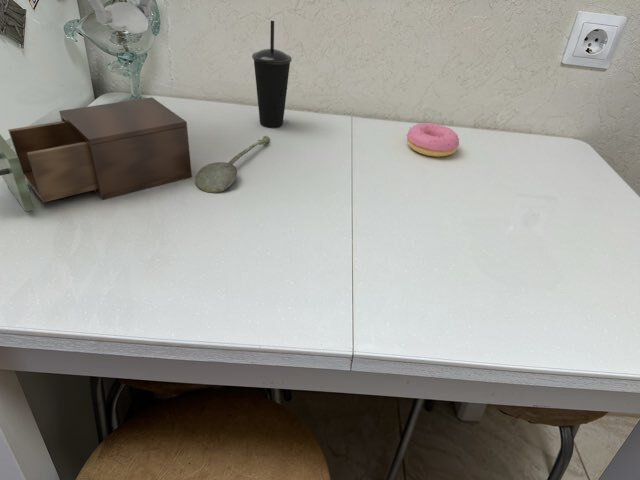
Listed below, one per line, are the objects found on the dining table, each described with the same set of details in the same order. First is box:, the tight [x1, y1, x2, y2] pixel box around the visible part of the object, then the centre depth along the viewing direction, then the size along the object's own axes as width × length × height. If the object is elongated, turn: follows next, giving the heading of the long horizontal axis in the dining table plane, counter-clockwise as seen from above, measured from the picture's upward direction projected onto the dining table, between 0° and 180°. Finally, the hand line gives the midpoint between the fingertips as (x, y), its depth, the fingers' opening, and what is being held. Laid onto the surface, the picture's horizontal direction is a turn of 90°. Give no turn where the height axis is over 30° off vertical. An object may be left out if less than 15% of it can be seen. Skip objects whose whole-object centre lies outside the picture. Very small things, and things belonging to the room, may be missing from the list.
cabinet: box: [58, 96, 193, 201], centre depth 78 cm, size 15×12×10 cm
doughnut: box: [406, 122, 460, 158], centre depth 101 cm, size 11×11×4 cm
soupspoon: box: [194, 135, 272, 194], centre depth 87 cm, size 22×3×7 cm
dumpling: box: [104, 1, 149, 35], centre depth 79 cm, size 7×5×4 cm
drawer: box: [0, 120, 98, 212], centre depth 71 cm, size 18×11×8 cm, turn 132°
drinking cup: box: [251, 20, 293, 129], centre depth 98 cm, size 8×8×20 cm
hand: (125, 19), depth 79 cm, fingers closed on dumpling, 6 cm apart
